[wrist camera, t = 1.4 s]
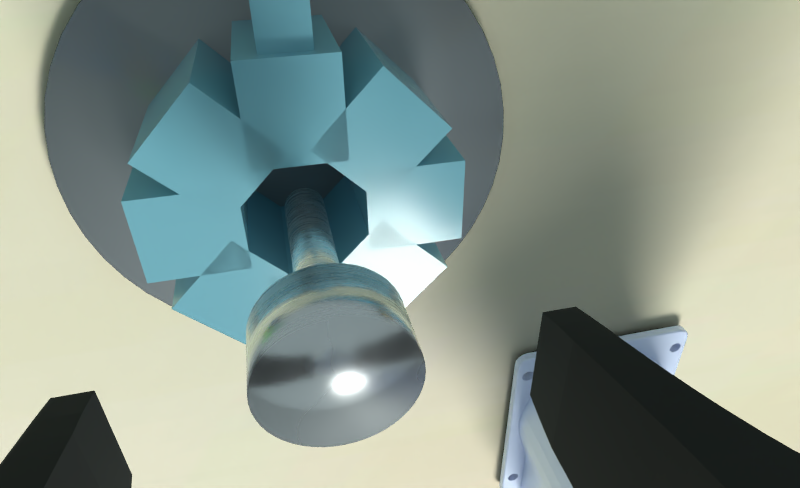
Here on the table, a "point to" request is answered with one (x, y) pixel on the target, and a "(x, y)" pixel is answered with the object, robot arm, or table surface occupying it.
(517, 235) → the table surface
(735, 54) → the table surface
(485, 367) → the table surface
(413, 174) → the blue block ring base
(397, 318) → the plunger
